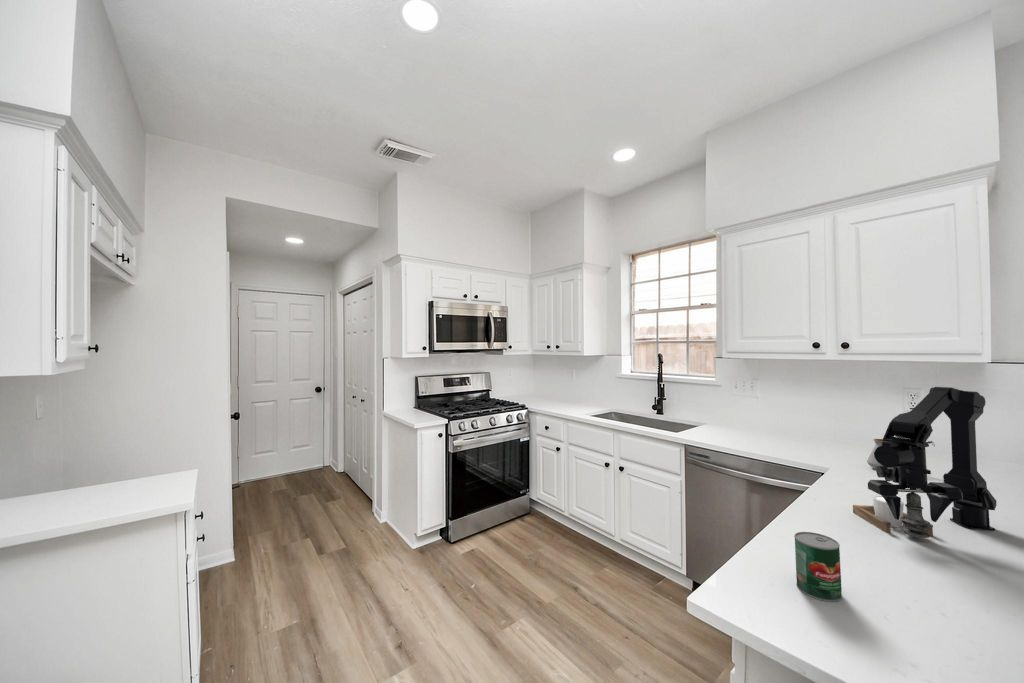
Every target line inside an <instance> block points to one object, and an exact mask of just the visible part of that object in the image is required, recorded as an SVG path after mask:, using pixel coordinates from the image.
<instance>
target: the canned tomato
mask: <svg viewBox="0 0 1024 683" xmlns="http://www.w3.org/2000/svg"><path fill="white" fill-rule="evenodd" d="M793 537H794V554H795V558H794V559H795V571H796V572H795V574H796V575H795V576H796V584H795V585H796V587H797V589H798V590H799V591H801V593H803V594H805V595H806V596H808V597H809V598H810V597H811V598H812V599H815V600H819V601H823V602H827V603H828V602H830V603H833V602H834V603H835V602H836V603H837V602H839V601H841V600H842V599H843V593H842V589H843V588H842V574H841V571H842V569H841V555H840V554H841V553H840V552H841V551H840V543H839V541H837V540H835V539H834V538H832V537H829V536H827V535H824V534H821V533H817V532H812V531H811V532H810V531H799V532H796V533H794V536H793Z"/></svg>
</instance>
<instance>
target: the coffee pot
mask: <svg viewBox="0 0 1024 683" xmlns="http://www.w3.org/2000/svg"><path fill="white" fill-rule="evenodd" d="M873 441H874V443H875V444H874V447H873V448H872V450H871V452H870V454H869V456H868V458H867V459H866V463H867V464H868V465H869V466H870V467H871V468H872V469H873V470H875V471H876V466H883V465H881V464H880V463H878V462H877V460H876V459H875V457H874V452H875V450H876V448H878V447H879V446H882V441H883V438H874V439H873ZM926 443H928V444H929V445H930V444H931V445H932V446H933V447H935V446H936V444H935V442H933V441H932V440H929V441H928V440H927V441H926ZM887 468H888V469H894V467H887Z"/></svg>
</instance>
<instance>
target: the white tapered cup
mask: <svg viewBox="0 0 1024 683" xmlns="http://www.w3.org/2000/svg"><path fill="white" fill-rule="evenodd" d="M871 498H872V502H873V503H872V504H873V506H874V510H875V516H876V517H878V518H880V519H881V520H883V521H889V522H891V525H890V527H891V528H892V527H893V528H900V527H902V526H903V523H902V520H901V519H900V517H902V516H903V512H904V507H905V503H904V501H903V500H901V504H900V517H899V520H897V519H895V518H894V516H893V514H892V512H891V510H890V508H889V506H888V504H887V502H886V501H885V499H884V498H883V497H882V496H881V495H874V496H872V497H871Z"/></svg>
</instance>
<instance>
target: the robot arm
mask: <svg viewBox="0 0 1024 683" xmlns="http://www.w3.org/2000/svg"><path fill="white" fill-rule="evenodd" d="M985 406H986V398H985V397H984V396H983V395H981V394H980V392H978V391H972V390H962V389H959V388H954V387H951V386H950V387H949V386H934V387H930V389H929V392H928V393H927V395H925V396H924V397H923V399H921V401H919V403H917V405H915V406H914V407H913V408H912V409H911V410H909V411H908V412H907V411H906V412H902V413H899V414H897V415H896V416H894V417H893V418H892V419H891V420H890V421H889V424H888V426H887V429H886V430H885V433H884V435H883V438H882V439H883V441H882V446H879V447H878V448H876V450H875V452H874V457H875V459H876V460H877V462H878V463H880V464H881V465H883V466H876V470H875V471H876V476H877V477H878V478H884V479H870V480H868V482H867V490H870V491H872V492H874V493H876V494H877V495H879V496H882V497H883V498H884V499H885V501H886V502H887V504H888V506H889V508H890V510H891V512H892V514H893V516H894V518H895V519H897V520H899V517H900V504H901V501H902V499H901V497H900V496H898V495H899V492H900V493H911V492H914V493H916V494H918V493H919V494H926V496H927V498H928V500H929V513H930V515H929V516H930V520H931V522H934V523H936V522H938V520H939V519H940V517H941V516H942V515H943V513H944V512H945V510H946V509H947V508H949V507H950V505H951V504H953V506H952V508H951V511H952V512H951V513H952V517H951V518H950V517H949V520H950V521H952V522H953V523H956V524H958V525H959V526H962V527H964V528H966V529H970V530H983V531H996V528H995V527H994V526H991V525H990V524H991V523H990V511H996V508H997V500H996V498H995V497H994V496H993V494H992V493H991V491H989V489H988V486H987V481H986V480H985V479H984V477H983V476H982V475H981V474H980V472H979V471H978V462H977V461H978V458H977V457H978V456H977V435H976V434H977V433H976V432H977V431H976V421H977V420H979V418H980V417H981V416H983V414H984V407H985ZM942 413H944V414H945V415H946V417H948V419H949V420H950V440H951V442H950V443H951V444H950V445H951V464H952V466H951V469H949V471H947V473H946V472H945V473H944V474H943V475H942V478H943V482H940V481H939V482H938V481H937V482H935V481H929V482H928V475H932V471H931V470H930V469H927V467H928V466H927V454H926V453H927V452H926V448H929V447H930V444H929V443H926V442H928V439H929V438H930V436H931V435H932V433H933V430H934V429H933V427H932V423H934V422H935V421H936V419H937V418H938V417H940V415H941V414H942ZM887 467H894V469H888V468H887Z"/></svg>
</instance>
